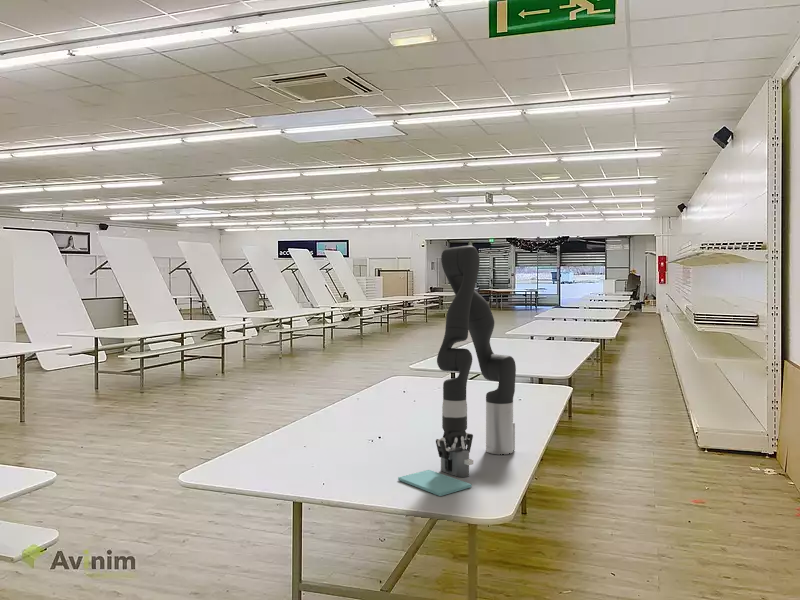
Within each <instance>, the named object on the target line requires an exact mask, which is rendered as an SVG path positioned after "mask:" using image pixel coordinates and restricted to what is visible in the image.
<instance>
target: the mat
mask: <svg viewBox="0 0 800 600" xmlns="http://www.w3.org/2000/svg"><path fill="white" fill-rule="evenodd" d="M397 480H398V481H399V482H402V483H405V484H407V485H410V486H412V487H416V488H417V489H421V490H423V491H426V492H428V493H431V494H433V495H435V496H439V497H441V496H442V497H443V496H446V495H448V494H449V495H450V494H453V493H455V492H460V491H462V490H467V489H470V488H472V483H469V482H466V481H463V480H460V479H457V478H455V477H451V476H449V475H447V474H443V473H440V472H437V471H434V470H432V469H426V470H423V471H418V472H416V473H414V472H413V473H411V474H410V473H409V474H406V475H402V476H398V478H397Z"/></svg>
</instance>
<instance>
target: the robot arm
mask: <svg viewBox="0 0 800 600" xmlns="http://www.w3.org/2000/svg"><path fill="white" fill-rule="evenodd" d="M440 261H441V267H442V270H443V272H444V275H445V276H446V279H447V281H448V283H449V285H450V287H451V289H452V291H453V293H454V296H455V297H454V298H453V300H452V301H451V302H450V305H449V306H448V309H447V312H446V319H445V332H444V336H443V340H442V343H441V345H440V348H439V351H438V354H437V356H436V364H437V368H439V370H441V371H443V372H454V373H455V372H458V376H457V377H455V378H454V377H453V378H448V379H445V380H444V381H443V385H442V397H443V398H442V406H441V408H442V410H441V413H442V414H441V417H442V418H441V419H442V420H441V421H442V422H441V425H442V426H441V428H442V430H443V435H442V437H441V438H439V439H438V438H436V439H435V445H436V449H437V452H438V456H439V458H440V459H441V458H444V459H445V470H446V471H447V472H452V460H451V459H452V453H453V452H454V451H455V448H458V449H462V450H463V449H464V450H467V451H469V454H470V453H471V448H472V444H473V443H472V442H473V438H474V435H473V434H472V433H468V432H466V431H467V429H468V402H467V383H468V378H469V374H470V371H471V367H472V364H473V355H472V353H471V351H470V350H469V349H468V348H463V347H462V348H459V347H456V348H455V347H453V346H454V345H455V344H456V343H460V342H465V341H467V339H468V338H469V337H468V336H469V335H470V337H471V338H470V339H471V340H472V344H473V347H474V350H475V354H476V357H477V361H478V364H479V369H480V373H481V375H482V376H483V378H484V379H485V380H486V381H491V382H498V384H497V385H498V386H497V388H496V389H494V390H491V391H488V392H487V393H486V394H485V451H486V452H487V453H488V454H491V455H500V454H501V455H502V454H504V455H509V453H510V454H512V453H514V451H513V450H515V451H516V423H515V422H514V395H515V391H516V373H517V370H516V369H517V366H516V361H515V359H514V358H513V356H511V355H509V354H508V355H507V354H495V353H494V351H493V349H492V346H491V342H490V341H491V338H492V334H493V331H494V329H495V318H494V316H493V313H492V310H491V307H490V304H489V303H488V301H487V300H486V299H485V298H484V297H483V296H482V295H481V294H480V293H479V292H478V291H476V290H475V289H476V284H477V280H478V275H479V269H480V254H479V252H478V250H477V248H476V247H475V246H473V245H462V246H453V247H448V248H445V249H444V250H443V251H442V253H441V257H440ZM448 447H450V448H451V449H449V448H448ZM448 451H449V455H448ZM502 456H503V455H502Z"/></svg>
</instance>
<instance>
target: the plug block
mask: <svg viewBox="0 0 800 600" xmlns="http://www.w3.org/2000/svg"><path fill="white" fill-rule="evenodd" d="M448 448H449V449H451V448H450V447H448ZM448 455H449V451H448ZM451 460H452V472H447V471H446V470H445V459H444V458H440V471H441V472H443V473H446V474H449V475H452V476H455V477H458V478H466V477H469V476H470V466H471V465H474V459H471V458H470V453H469V451H467V450H464V449H463V450H462V449H458V448H455V451H454V452H453V453H452V459H451Z"/></svg>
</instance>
